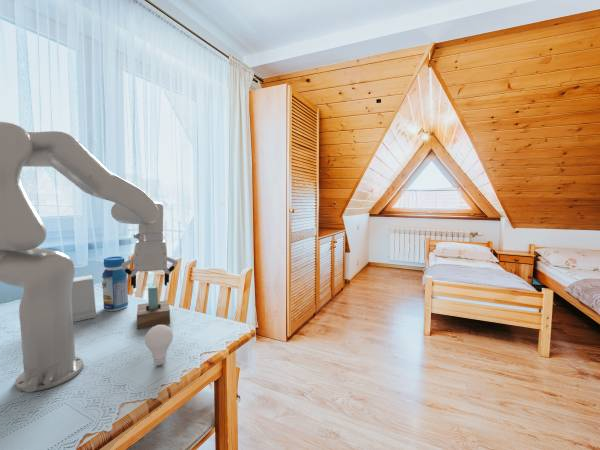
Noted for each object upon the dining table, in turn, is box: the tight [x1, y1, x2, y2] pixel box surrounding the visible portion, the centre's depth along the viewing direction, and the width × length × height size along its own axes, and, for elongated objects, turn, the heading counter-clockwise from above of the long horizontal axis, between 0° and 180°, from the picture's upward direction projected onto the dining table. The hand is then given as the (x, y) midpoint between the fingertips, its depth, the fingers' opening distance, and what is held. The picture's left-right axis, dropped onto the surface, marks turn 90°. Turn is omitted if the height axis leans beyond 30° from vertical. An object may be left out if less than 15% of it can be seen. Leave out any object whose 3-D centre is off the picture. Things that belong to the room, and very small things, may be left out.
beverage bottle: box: [101, 256, 129, 312], centre depth 111 cm, size 8×8×20 cm
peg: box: [147, 285, 159, 310], centre depth 101 cm, size 3×3×12 cm
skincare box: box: [72, 274, 97, 323], centre depth 101 cm, size 8×6×15 cm
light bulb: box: [144, 324, 174, 367], centre depth 75 cm, size 7×7×11 cm
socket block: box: [136, 300, 171, 330], centre depth 101 cm, size 10×10×5 cm
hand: (150, 285), depth 99 cm, fingers open, 9 cm apart
